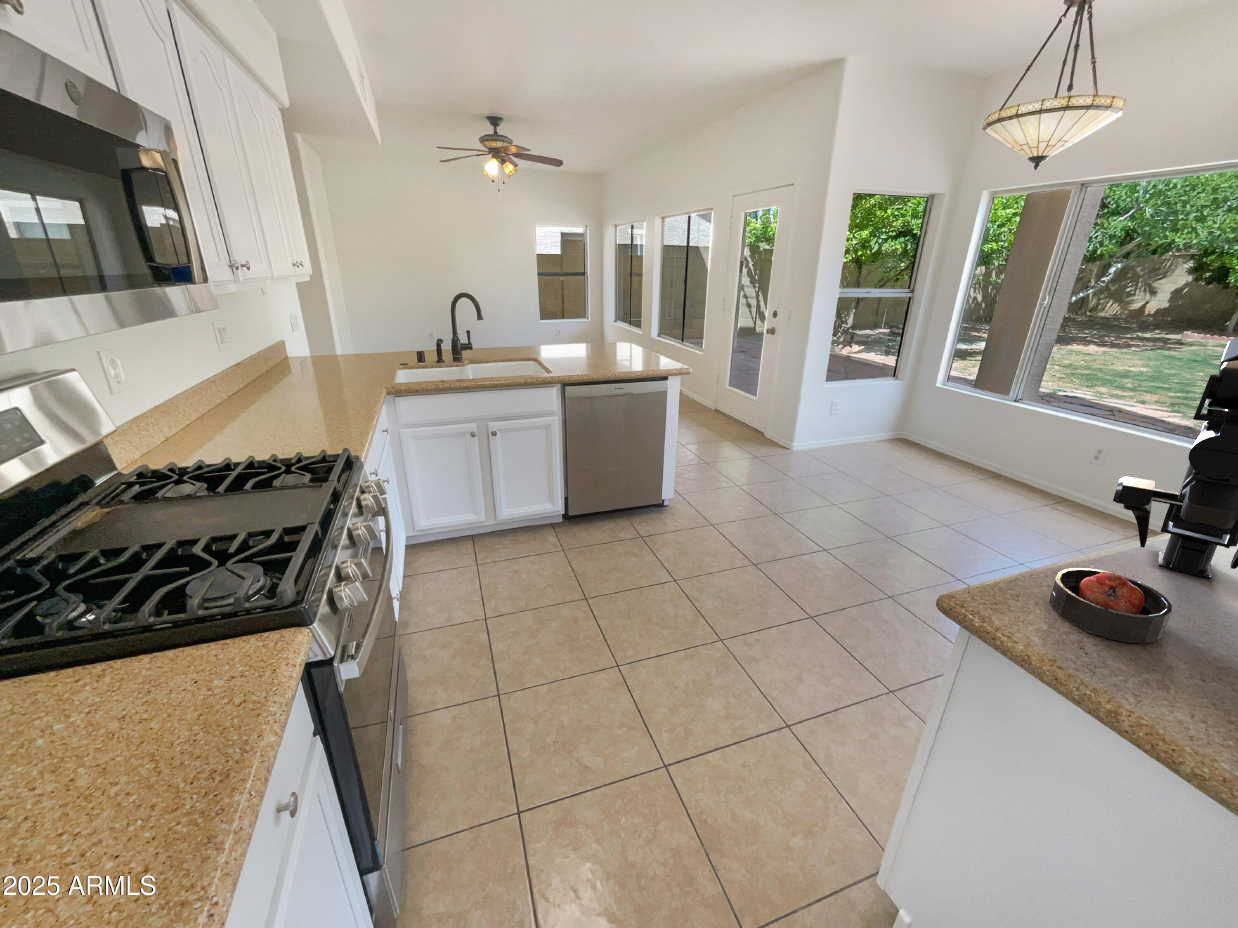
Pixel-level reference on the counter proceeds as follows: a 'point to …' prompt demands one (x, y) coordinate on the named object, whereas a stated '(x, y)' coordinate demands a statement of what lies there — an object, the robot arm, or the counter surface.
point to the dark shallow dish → (1108, 621)
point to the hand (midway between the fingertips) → (1185, 556)
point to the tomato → (1112, 593)
